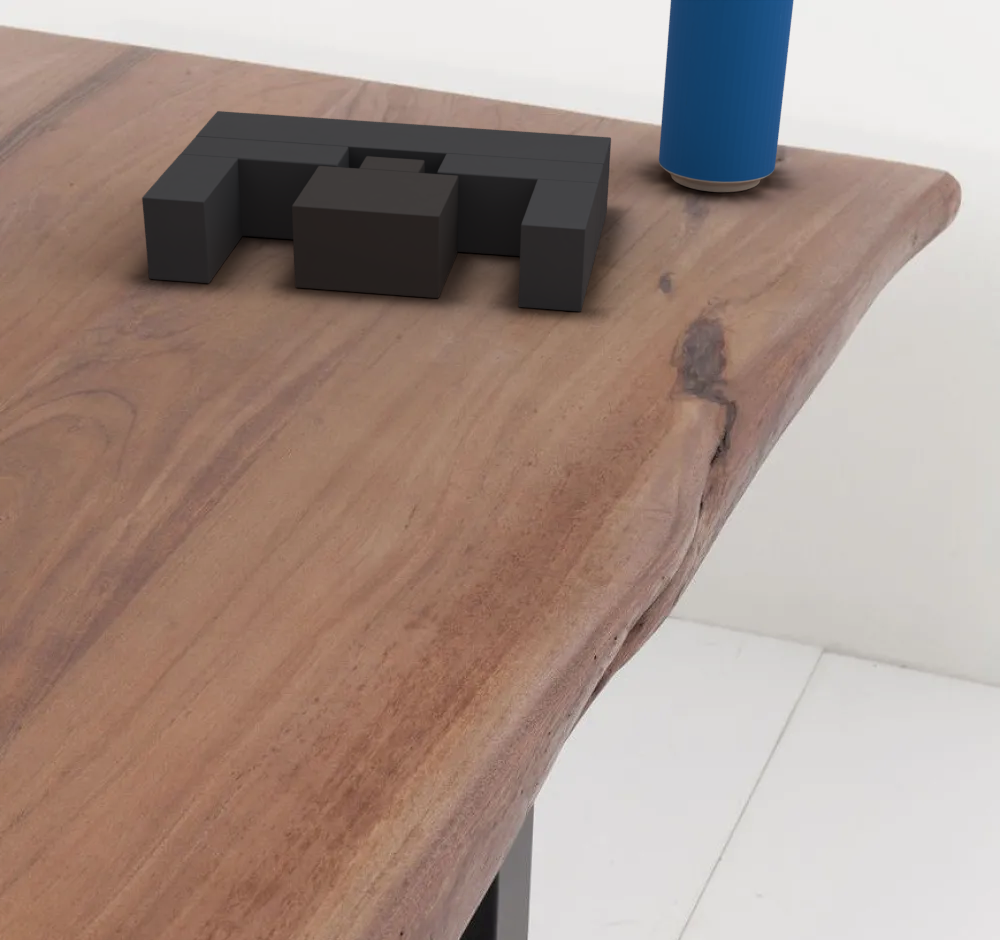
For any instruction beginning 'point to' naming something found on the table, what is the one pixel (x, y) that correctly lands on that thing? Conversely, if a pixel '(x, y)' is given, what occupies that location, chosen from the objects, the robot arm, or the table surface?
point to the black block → (376, 229)
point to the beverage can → (724, 91)
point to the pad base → (346, 143)
